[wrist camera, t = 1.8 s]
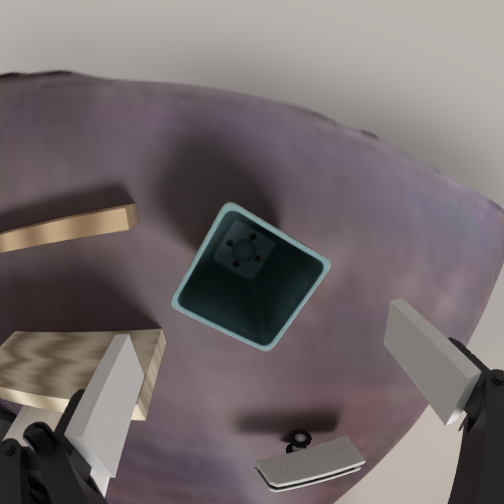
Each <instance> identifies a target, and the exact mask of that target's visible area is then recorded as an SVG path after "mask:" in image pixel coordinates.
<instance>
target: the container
mask: <svg viewBox="0 0 504 504" xmlns="http://www.w3.org/2000/svg"><path fill="white" fill-rule="evenodd" d="M63 413H64V412H58V411H52V410H47V409H42V408H37V407H33V406H28V405H24V406H23V408H22V409H21V411H20V412H19V414H18V416H17V417H16V419H15V420H14V422H13V424H12V425H11V427H10V429H9V431H8V432H7V434H6V436H5V437H4V439H3V441H4V440H5V439H8V438H14V439H16V440H17V441H18V442H19V443H20V444H21V445H22V446H28V445H27V444H26V442H25V441H24V440H23V433H24V431H25V429H26V428H27V427H28V426H29V425H30V424H32V423H34V422H38V421H39V422H45V423H46V424H48V425H49V427H50V428H51V429H52V431H53V432H54V430H55V428H56V426H57V424H58V422H59V420H60V418H61V416H62V414H63ZM90 475H91V476H92V478H93V479H94V481H95V483H96V484H97V486H98V488H99V490H100V491H101V493H102V495H103V496H104V498H105V494H106V490H107V486H108V482H109V478H110V477H106V476H101V475H98V474H97V473H96V472H95V471H94V470H93V469H91V472H90Z"/></svg>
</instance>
